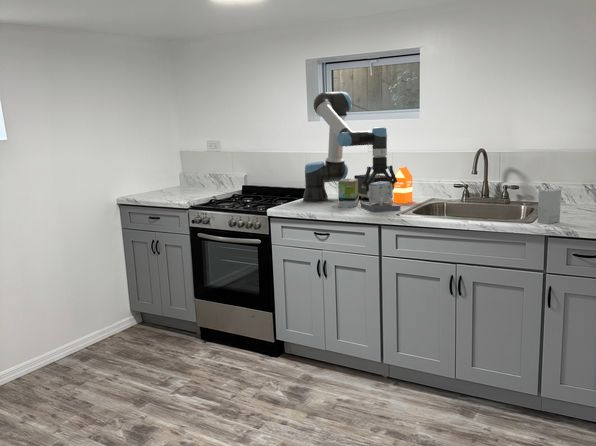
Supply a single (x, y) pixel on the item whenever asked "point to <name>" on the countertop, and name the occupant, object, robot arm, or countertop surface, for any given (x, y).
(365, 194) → the speaker
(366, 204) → the pin tray
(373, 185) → the light bulb box
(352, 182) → the tea box
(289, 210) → the countertop surface
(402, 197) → the orange juice
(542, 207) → the skincare box
